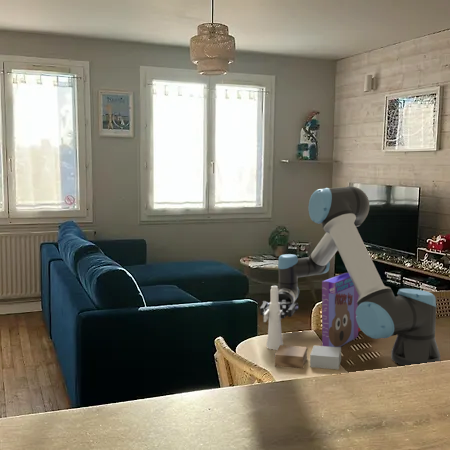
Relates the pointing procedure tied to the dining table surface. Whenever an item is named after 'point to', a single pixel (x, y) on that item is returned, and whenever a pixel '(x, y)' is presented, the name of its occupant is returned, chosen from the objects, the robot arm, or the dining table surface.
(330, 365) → the grey stand
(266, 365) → the dining table surface
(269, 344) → the cosmetic bottle
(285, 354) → the walnut stand
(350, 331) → the cereal box
